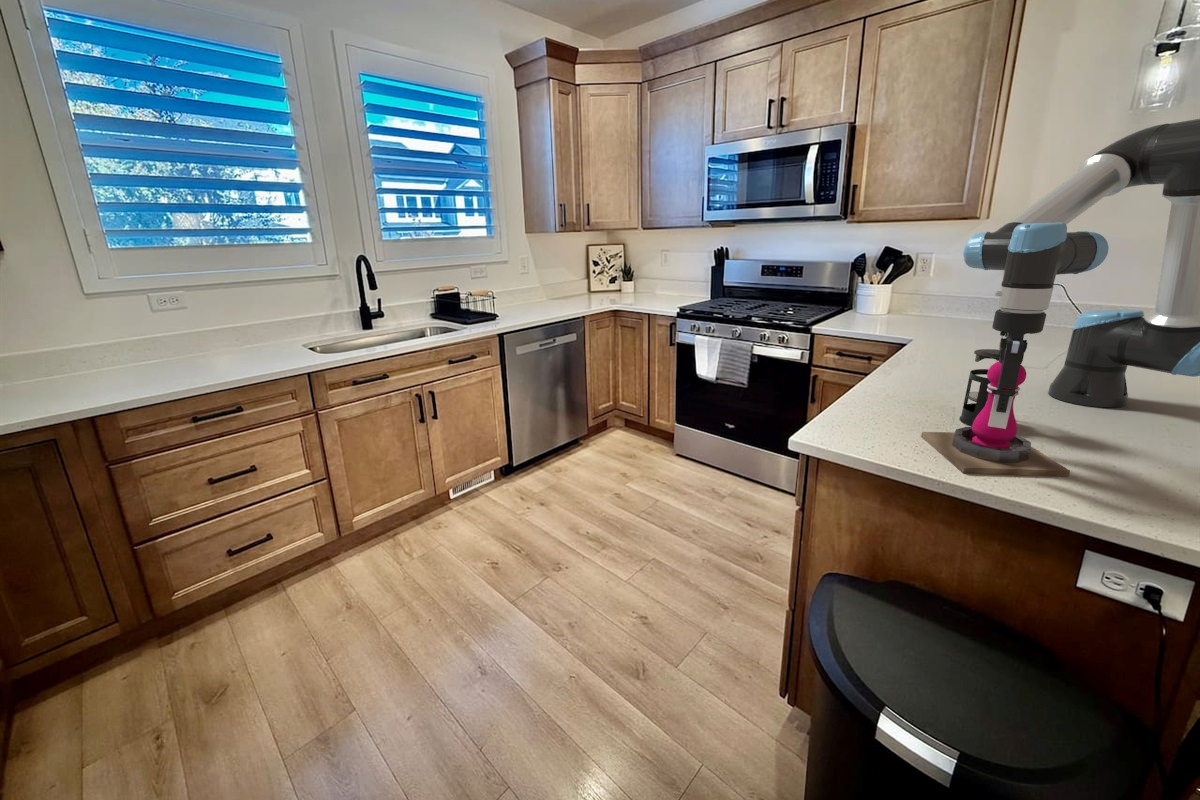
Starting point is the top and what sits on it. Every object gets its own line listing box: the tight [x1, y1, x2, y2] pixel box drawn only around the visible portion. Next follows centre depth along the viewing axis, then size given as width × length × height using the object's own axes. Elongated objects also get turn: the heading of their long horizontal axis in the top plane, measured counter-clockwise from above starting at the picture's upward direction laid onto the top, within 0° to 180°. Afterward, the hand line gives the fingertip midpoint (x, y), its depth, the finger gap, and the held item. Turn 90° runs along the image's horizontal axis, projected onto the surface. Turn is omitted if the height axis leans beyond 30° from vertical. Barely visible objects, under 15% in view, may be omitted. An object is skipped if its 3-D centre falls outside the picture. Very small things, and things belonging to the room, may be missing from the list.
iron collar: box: [952, 426, 1032, 463], centre depth 104 cm, size 12×12×2 cm
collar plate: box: [920, 431, 1071, 477], centre depth 105 cm, size 18×18×1 cm
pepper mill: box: [971, 361, 1027, 448], centre depth 101 cm, size 7×7×20 cm
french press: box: [958, 327, 1005, 427], centre depth 118 cm, size 12×9×23 cm
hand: (996, 416), depth 102 cm, fingers open, 13 cm apart
